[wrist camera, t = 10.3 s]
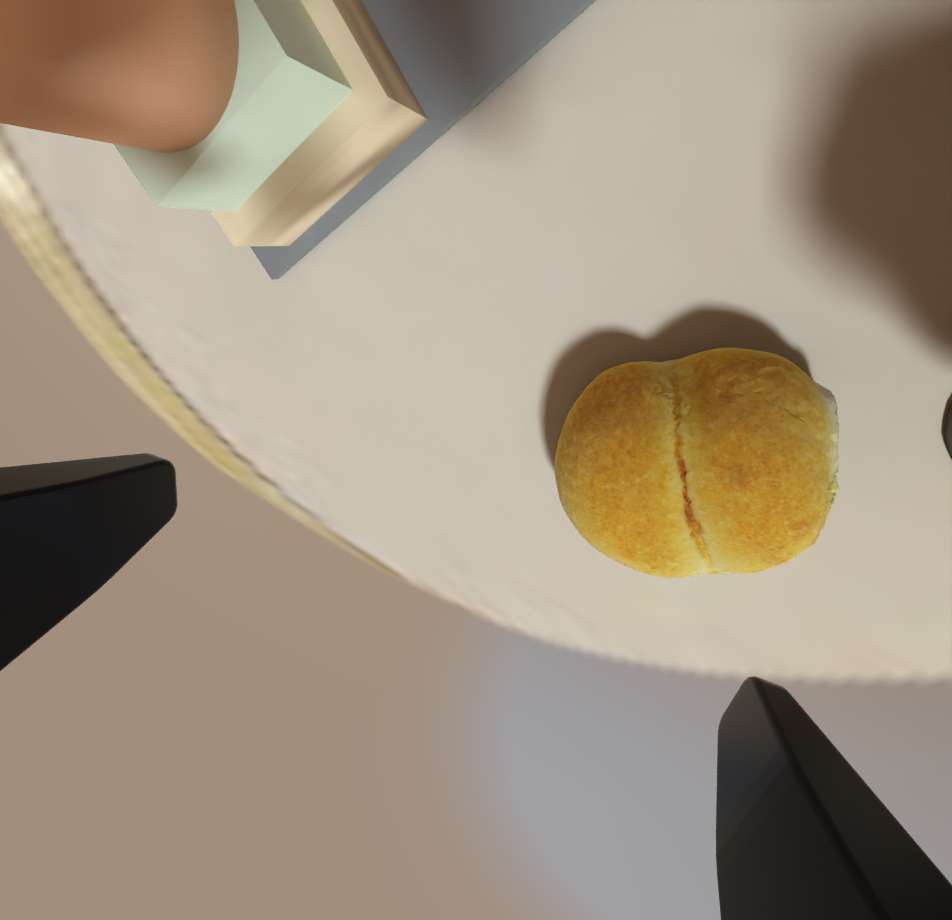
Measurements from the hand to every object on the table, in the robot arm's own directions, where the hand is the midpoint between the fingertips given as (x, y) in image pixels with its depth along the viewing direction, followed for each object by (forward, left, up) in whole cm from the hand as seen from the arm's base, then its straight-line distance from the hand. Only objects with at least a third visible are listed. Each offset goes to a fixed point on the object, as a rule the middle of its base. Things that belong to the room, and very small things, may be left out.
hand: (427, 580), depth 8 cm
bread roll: (-3, +5, -13) cm, 15 cm away
